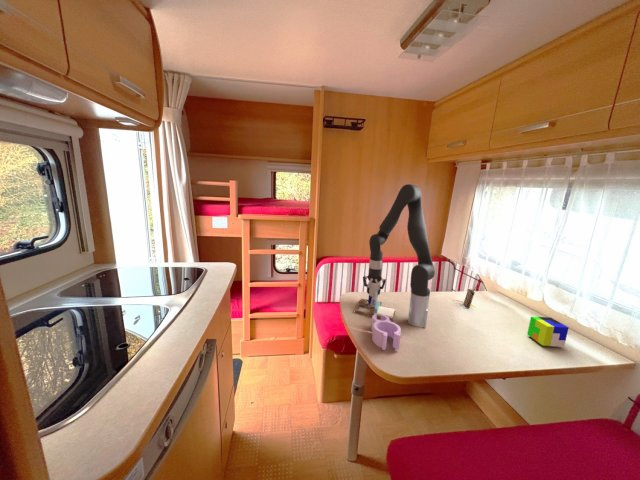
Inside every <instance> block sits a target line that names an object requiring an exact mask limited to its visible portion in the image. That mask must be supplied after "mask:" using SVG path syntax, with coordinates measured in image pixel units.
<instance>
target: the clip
mask: <svg viewBox="0 0 640 480" xmlns="http://www.w3.org/2000/svg"><path fill="white" fill-rule="evenodd" d="M371 317H372V318H371V319H372V320H371V331H372V334H371V335H372V337H371V340H372V342H373V343H374V344H375V345H377V346H378V347H381V349H382V351H385V350H386V349H387V344H388V343H387V340H388V337H390V338H392V339H393V340H392V348H393V349H396V350H397V351H399V350H400V348H401V347H400V345H401V338H402V334H401V332H402V331H401V330H402V329H401V327H400V325H398V324H397V323H395V322H394V321H390V320H389V317H388V316H386V315H383V314H382V315H381V318H380V319H379V318H377V315H376V314H375V315H373V316H371Z"/></svg>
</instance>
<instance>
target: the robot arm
mask: <svg viewBox="0 0 640 480" xmlns="http://www.w3.org/2000/svg"><path fill="white" fill-rule="evenodd" d="M422 199H423V198H422V190H421V188H420V187H419V186H417V185H415V184H410V183H409V184H408V183H407V184H404V185H403V186H402V187H401V188H400V189H399V190H398V193H397V196H396V198H395V200H394V202H393V204H392V206H391V208H390V209H389V211H388V213H387V215H386V216H385V217H384V219H383V220H382V222H381V224H380V225H379V228H378V231H377V232H376V233H374V234H372V235H371V236H370V238H369V240H368V241H369V242H368V244H369V251H370V253H369V254H370V255H369V256H370V257H369V262H368V275H363V277H362V281H363V286H364V287H366V293H367V294H368V295H369V287H370V284H371V283H376V284H378V283H379V284H378V296H379V295H380V294H381V290H384V287H385V285H386V282H387V279H386V278H383V277H382V271H383V250H381V246H383V245H384V244H385V243H386V242H387V240H388V238H389V236H390V234H391V233H392V231H393V230H394V228H395V227H396V225H397V224H398V222H399V219H400V217H401V214H402V212H403V210H404V208H405V207H406V206H407V209H408V218H407V225H406V226H407V227H406V228H407V229H406V230H407V235H408V239H409V240H408V241H409V243H410V244H411V246H412V249H414V252H415V254H416V256H417V257H416V259H417V263H418V264H416V265H414V266H413V267H412V269H411V273H410V283H409V284H410V291H411V292H410V298H409V306H408V307H409V308H408V315H407V323H408V324H409V325H411V326H412V327H417V328H426V326H427V321H428V320H427V319H428V314H429V313H428V312H429V310H428V309H429V302H430V296H431V295H430V294H431V290H430V288H428V284H429V281H430V280H432V279H434V277H435V274H436V271H435V270H436V269H435V266H434V263H433V259H432V256H431V249H430V244H429V239H428V232H427V226H426V221H425V215H424V213H423V203H422V202H423V201H422ZM367 280H368V281H369V282H368V281H367ZM367 282H368V283H367ZM380 282H381V283H382V285H380V284H381V283H380Z"/></svg>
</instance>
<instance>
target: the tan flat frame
mask: <svg viewBox="0 0 640 480" xmlns="http://www.w3.org/2000/svg"><path fill="white" fill-rule="evenodd" d="M367 301H368V298H361V299H360V301H359V302H358V304H357V306H356V307H355V309H354V312H353V313H354V314H358V315H363V316H368V317H372V316H373V315H375V314H374V310H375V307H372V306H369V305H368V304H367V303H368V302H367ZM379 302H380V306H381V307H382V301H379ZM366 304H367V305H366ZM360 308H364V309H368V310H371V312H368V311H363V310H359V309H360ZM395 315H396V310H394V314H393V318H389V320H390V321H391V322H394V319H395ZM377 319H381V316H380V315H377Z"/></svg>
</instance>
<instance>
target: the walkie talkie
mask: <svg viewBox="0 0 640 480" xmlns="http://www.w3.org/2000/svg"><path fill="white" fill-rule="evenodd" d="M479 284H480V283H479V282H478V283H477V284H476V286H475V287H474V288H468V289H467V290H466V291H467V292H466V295H465V298H464V300H461V299H458V301H459V302H461V303H463V305H464V307H465V308H467V309H470V307H473V308H477V307H476V306H475V305H473V304H472V301H473V300H474V299H473V298H474V295H475V294H476V293H475V290H476V288H477V286H478V285H479ZM451 300H452V301H455V300H456V298H455V299H454V298H451Z"/></svg>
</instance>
